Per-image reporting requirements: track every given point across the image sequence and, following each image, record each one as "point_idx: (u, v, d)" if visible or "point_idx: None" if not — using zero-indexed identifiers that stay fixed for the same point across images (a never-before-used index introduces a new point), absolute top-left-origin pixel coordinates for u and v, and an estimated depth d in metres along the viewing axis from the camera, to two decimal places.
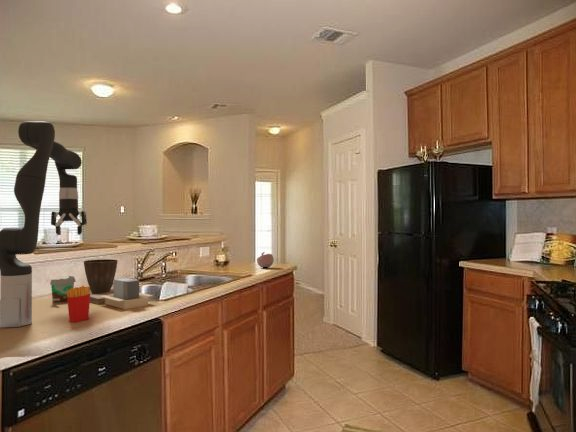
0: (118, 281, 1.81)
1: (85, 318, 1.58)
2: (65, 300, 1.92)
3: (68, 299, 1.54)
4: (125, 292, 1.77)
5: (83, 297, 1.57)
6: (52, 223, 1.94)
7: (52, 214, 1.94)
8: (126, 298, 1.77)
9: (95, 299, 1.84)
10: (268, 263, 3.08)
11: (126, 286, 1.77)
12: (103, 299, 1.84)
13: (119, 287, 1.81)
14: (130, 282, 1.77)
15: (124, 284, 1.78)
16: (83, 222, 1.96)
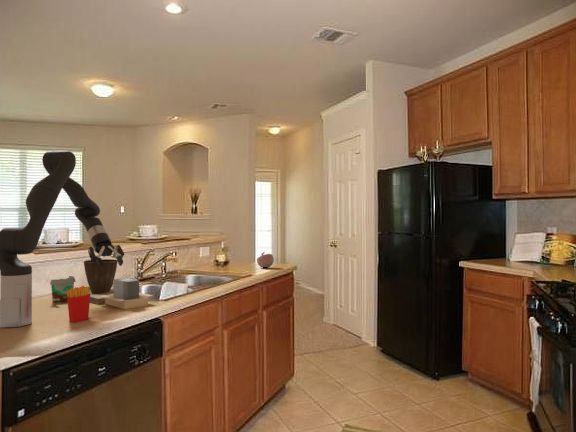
0: (118, 281, 1.81)
1: (85, 318, 1.58)
2: (65, 300, 1.92)
3: (68, 299, 1.54)
4: (125, 292, 1.77)
5: (83, 297, 1.57)
6: (94, 255, 1.87)
7: (91, 248, 1.89)
8: (126, 298, 1.77)
9: (95, 299, 1.84)
10: (268, 263, 3.08)
11: (126, 286, 1.77)
12: (103, 299, 1.84)
13: (119, 287, 1.81)
14: (130, 282, 1.77)
15: (124, 284, 1.78)
16: (122, 253, 1.96)
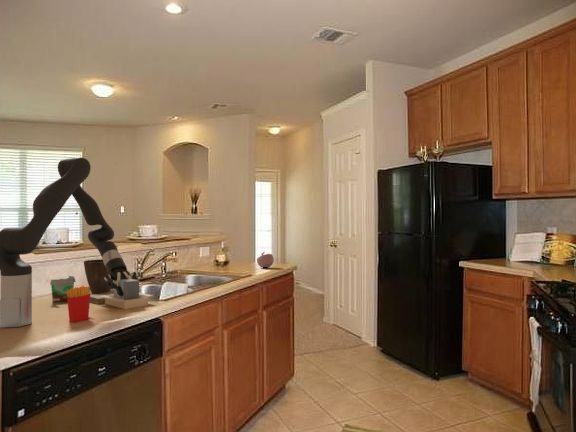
0: None
1: (85, 318, 1.58)
2: (65, 300, 1.92)
3: (68, 299, 1.54)
4: (125, 292, 1.77)
5: (83, 297, 1.57)
6: (113, 284, 1.79)
7: (107, 277, 1.80)
8: (126, 298, 1.77)
9: (95, 299, 1.84)
10: (268, 263, 3.08)
11: (126, 286, 1.77)
12: (103, 299, 1.84)
13: None
14: (130, 282, 1.77)
15: (124, 284, 1.78)
16: None
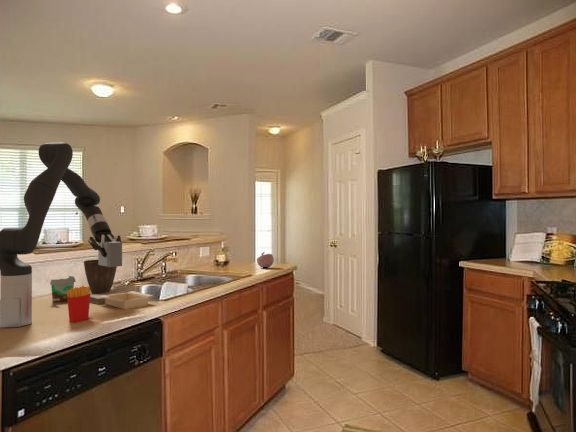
0: None
1: (85, 318, 1.58)
2: (65, 300, 1.92)
3: (68, 299, 1.54)
4: (108, 253, 1.84)
5: (83, 297, 1.57)
6: (97, 245, 1.86)
7: (91, 238, 1.87)
8: (109, 258, 1.84)
9: (95, 299, 1.84)
10: (268, 263, 3.08)
11: (109, 247, 1.84)
12: (103, 299, 1.84)
13: None
14: (113, 243, 1.84)
15: (107, 245, 1.85)
16: None
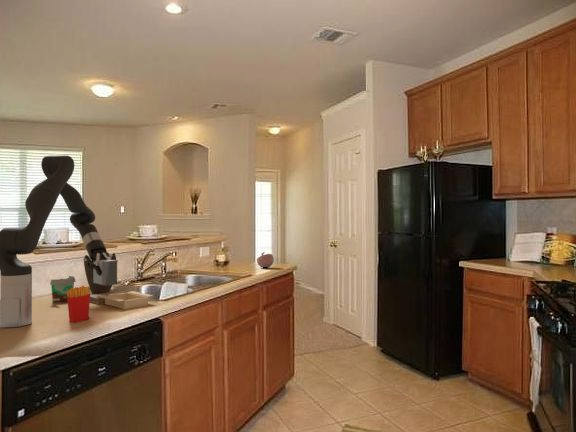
0: None
1: (85, 318, 1.58)
2: (65, 300, 1.92)
3: (68, 299, 1.54)
4: (103, 271, 1.86)
5: (83, 297, 1.57)
6: (92, 263, 1.88)
7: (87, 257, 1.88)
8: (104, 277, 1.86)
9: (95, 299, 1.84)
10: (268, 263, 3.08)
11: (104, 265, 1.86)
12: (103, 299, 1.84)
13: None
14: (108, 262, 1.86)
15: (102, 264, 1.87)
16: None
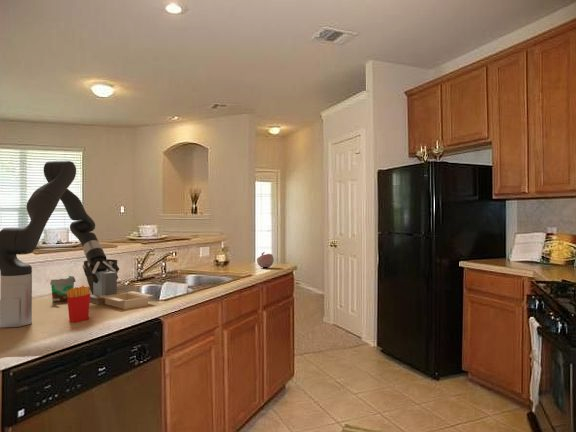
0: (97, 273, 1.90)
1: (85, 318, 1.58)
2: (65, 300, 1.92)
3: (68, 299, 1.54)
4: (103, 283, 1.86)
5: (83, 297, 1.57)
6: (88, 271, 1.87)
7: (85, 264, 1.89)
8: (104, 289, 1.86)
9: (95, 299, 1.84)
10: (268, 263, 3.08)
11: (104, 277, 1.86)
12: (103, 299, 1.84)
13: (98, 278, 1.90)
14: (108, 274, 1.86)
15: (102, 276, 1.87)
16: (117, 268, 1.97)
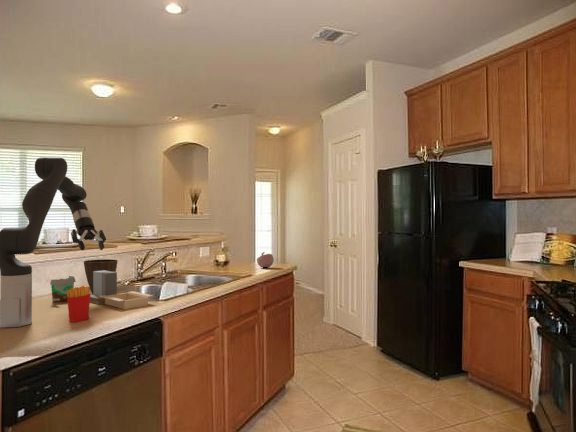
0: (97, 273, 1.90)
1: (85, 318, 1.58)
2: (65, 300, 1.92)
3: (68, 299, 1.54)
4: (103, 283, 1.86)
5: (83, 297, 1.57)
6: (76, 238, 1.94)
7: (74, 231, 1.96)
8: (104, 289, 1.86)
9: (95, 299, 1.84)
10: (268, 263, 3.08)
11: (104, 277, 1.86)
12: (103, 299, 1.84)
13: (98, 278, 1.90)
14: (108, 274, 1.86)
15: (102, 276, 1.87)
16: (104, 238, 2.04)
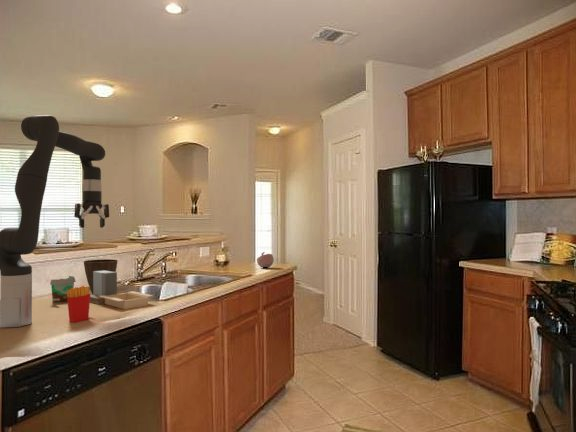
0: (97, 273, 1.90)
1: (85, 318, 1.58)
2: (65, 300, 1.92)
3: (68, 299, 1.54)
4: (103, 283, 1.86)
5: (83, 297, 1.57)
6: (78, 215, 1.87)
7: (78, 206, 1.87)
8: (104, 289, 1.86)
9: (95, 299, 1.84)
10: (268, 263, 3.08)
11: (104, 277, 1.86)
12: (103, 299, 1.84)
13: (98, 278, 1.90)
14: (108, 274, 1.86)
15: (102, 276, 1.87)
16: (108, 215, 1.97)
